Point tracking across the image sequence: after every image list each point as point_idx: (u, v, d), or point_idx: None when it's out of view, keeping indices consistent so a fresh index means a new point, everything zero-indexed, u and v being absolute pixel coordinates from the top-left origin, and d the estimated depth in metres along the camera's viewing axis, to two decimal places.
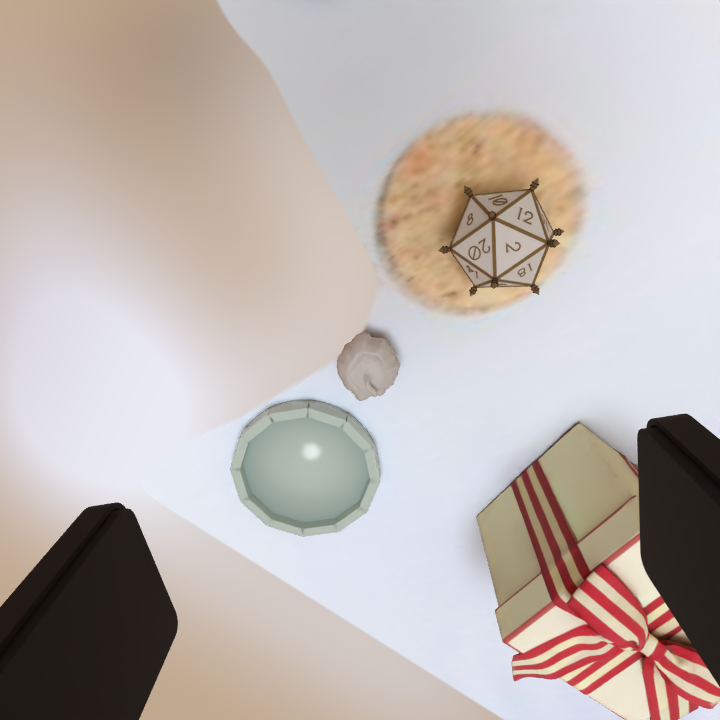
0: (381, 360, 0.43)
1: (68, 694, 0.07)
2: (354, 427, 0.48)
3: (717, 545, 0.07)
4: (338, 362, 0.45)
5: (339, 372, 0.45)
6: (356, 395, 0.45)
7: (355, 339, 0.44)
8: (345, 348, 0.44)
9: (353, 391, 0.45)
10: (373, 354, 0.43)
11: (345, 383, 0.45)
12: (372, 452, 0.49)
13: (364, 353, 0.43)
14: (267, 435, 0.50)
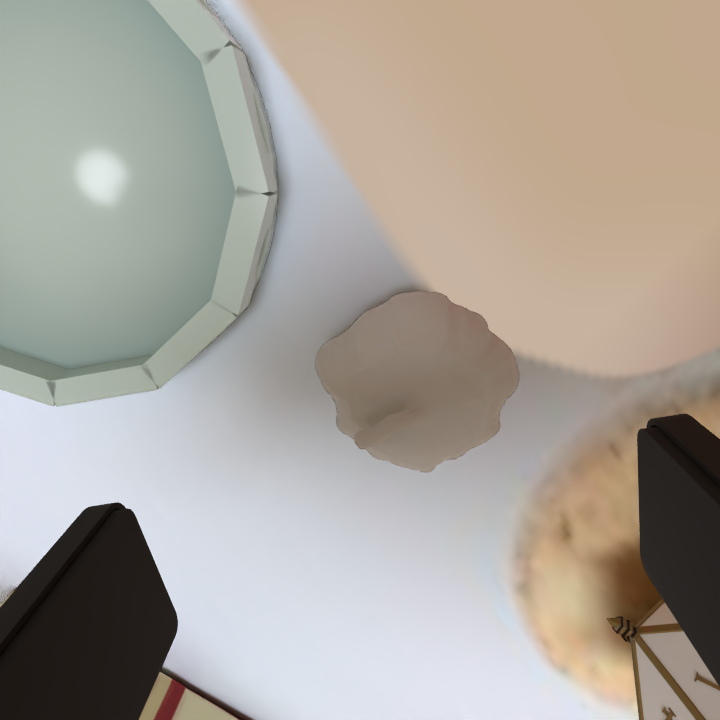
0: (462, 444, 0.15)
1: (68, 694, 0.07)
2: (217, 335, 0.16)
3: (717, 545, 0.07)
4: (442, 306, 0.14)
5: (414, 314, 0.14)
6: (339, 366, 0.14)
7: (509, 353, 0.15)
8: (484, 325, 0.15)
9: (356, 361, 0.14)
10: (482, 421, 0.14)
11: (379, 334, 0.14)
12: (144, 387, 0.17)
13: (487, 399, 0.14)
14: (138, 35, 0.14)
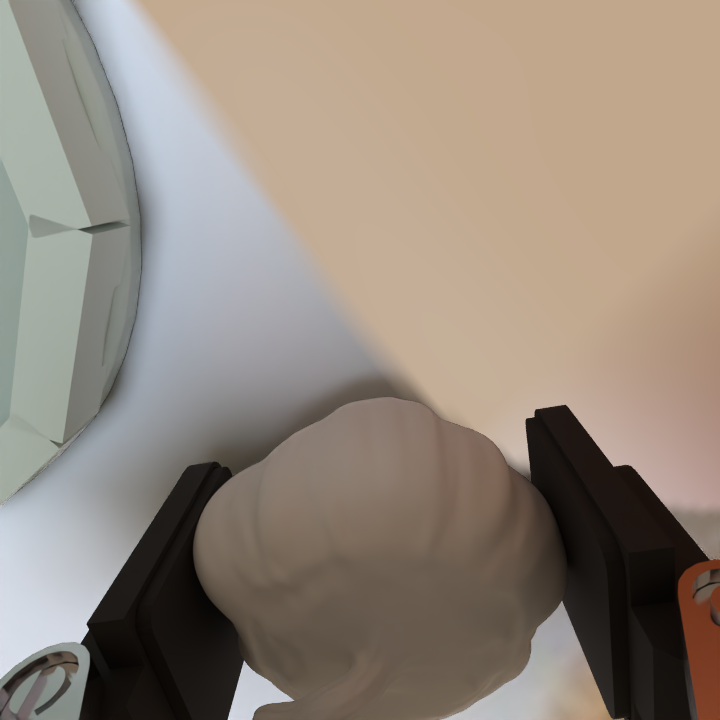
0: (466, 704, 0.08)
1: (198, 624, 0.08)
2: (33, 474, 0.09)
3: (566, 516, 0.08)
4: (426, 449, 0.07)
5: (370, 468, 0.07)
6: (229, 564, 0.07)
7: (549, 520, 0.08)
8: (505, 477, 0.08)
9: (258, 562, 0.07)
10: (503, 668, 0.07)
11: (302, 507, 0.07)
12: None
13: (515, 633, 0.07)
14: None
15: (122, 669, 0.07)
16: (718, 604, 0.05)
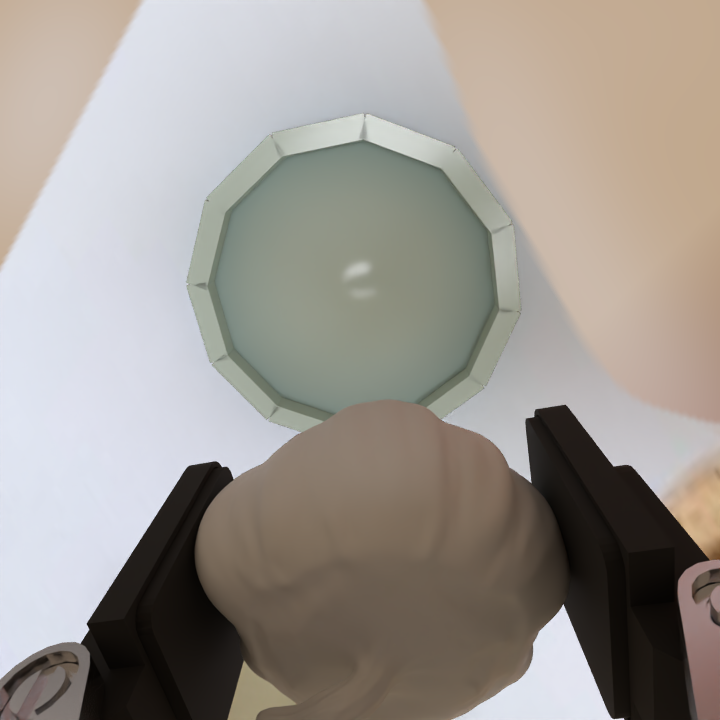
0: (468, 707, 0.08)
1: (199, 625, 0.08)
2: (465, 398, 0.24)
3: (566, 516, 0.08)
4: (428, 452, 0.07)
5: (372, 472, 0.07)
6: (231, 567, 0.07)
7: (551, 523, 0.08)
8: (506, 480, 0.08)
9: (260, 565, 0.07)
10: (506, 671, 0.07)
11: (304, 511, 0.07)
12: None
13: (516, 636, 0.07)
14: (440, 209, 0.22)
15: (122, 669, 0.07)
16: (718, 604, 0.05)
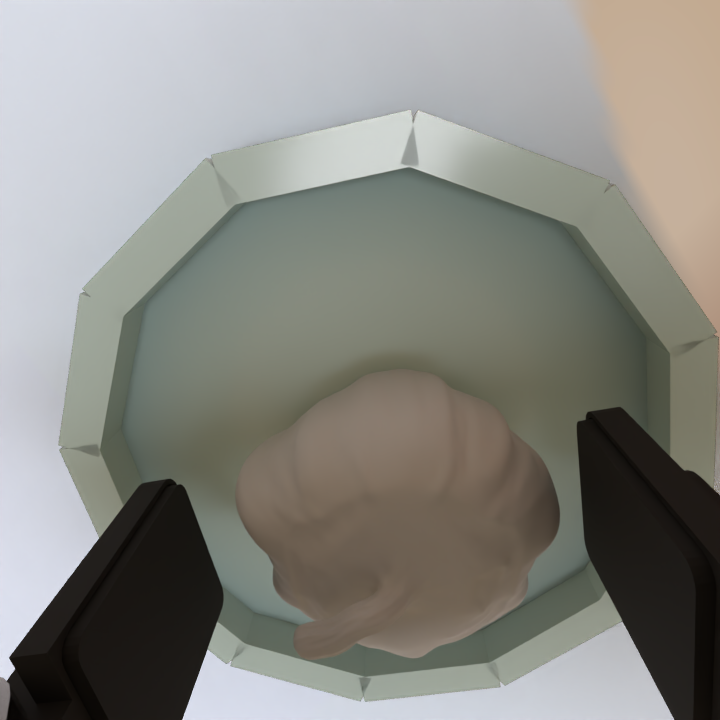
0: (473, 628, 0.09)
1: (139, 652, 0.08)
2: (588, 630, 0.13)
3: (633, 525, 0.07)
4: (439, 408, 0.09)
5: (393, 423, 0.08)
6: (270, 507, 0.09)
7: (543, 472, 0.09)
8: (506, 433, 0.09)
9: (298, 503, 0.08)
10: (504, 595, 0.09)
11: (334, 457, 0.08)
12: (485, 685, 0.14)
13: (515, 562, 0.08)
14: (556, 300, 0.11)
15: (48, 704, 0.06)
16: None
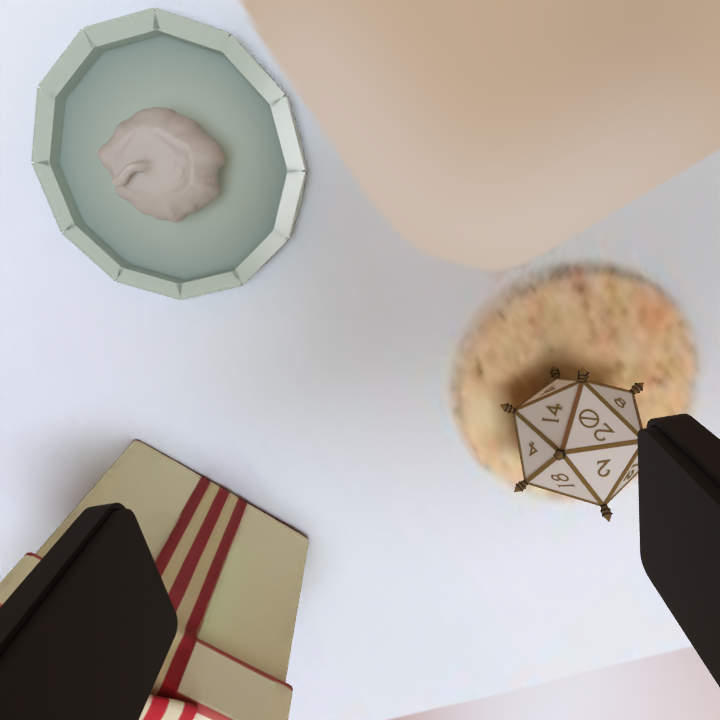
0: (182, 190, 0.25)
1: (68, 694, 0.07)
2: (275, 252, 0.29)
3: (717, 545, 0.07)
4: (164, 109, 0.25)
5: (145, 111, 0.25)
6: (106, 146, 0.25)
7: (211, 141, 0.26)
8: (192, 121, 0.25)
9: (113, 139, 0.25)
10: (190, 174, 0.25)
11: (126, 124, 0.25)
12: (234, 284, 0.30)
13: (190, 159, 0.25)
14: (233, 91, 0.27)
15: None
16: None
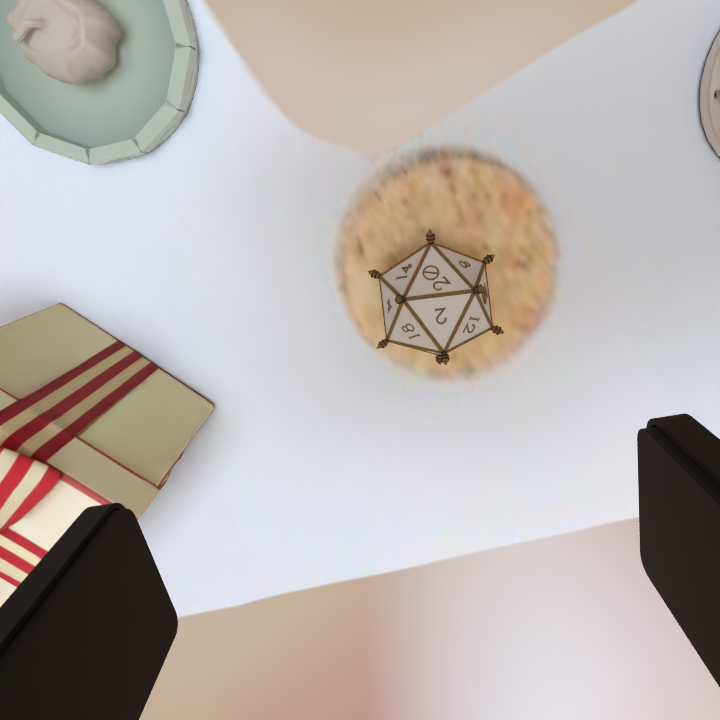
0: (75, 50, 0.30)
1: (68, 694, 0.07)
2: (169, 122, 0.34)
3: (717, 545, 0.07)
4: None
5: None
6: (12, 9, 0.29)
7: (103, 10, 0.30)
8: None
9: (16, 2, 0.29)
10: (81, 35, 0.29)
11: None
12: (134, 151, 0.34)
13: (80, 21, 0.29)
14: None
15: None
16: None
